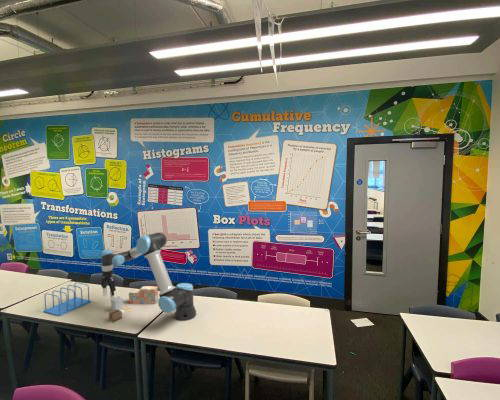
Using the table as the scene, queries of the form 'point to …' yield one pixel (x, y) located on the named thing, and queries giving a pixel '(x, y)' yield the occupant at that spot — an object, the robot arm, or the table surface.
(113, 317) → the walnut cube
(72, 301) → the file sorter
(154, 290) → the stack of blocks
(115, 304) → the grey block
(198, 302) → the table surface
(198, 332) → the table surface
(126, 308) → the envelope
